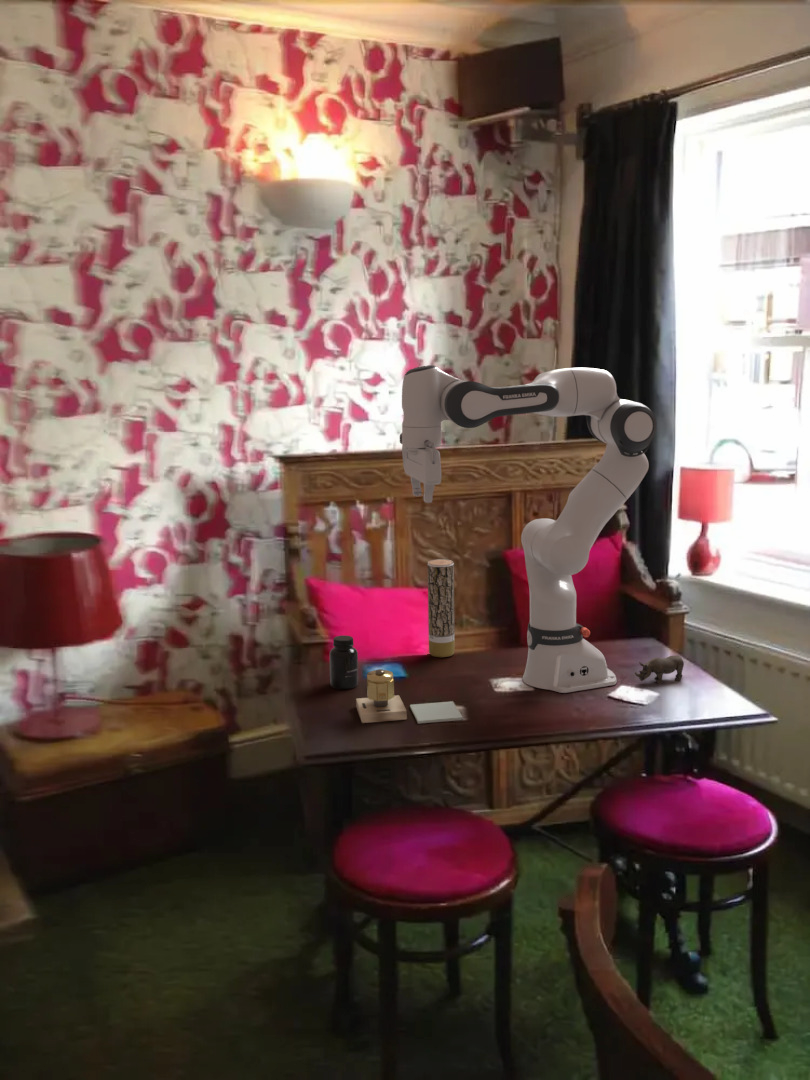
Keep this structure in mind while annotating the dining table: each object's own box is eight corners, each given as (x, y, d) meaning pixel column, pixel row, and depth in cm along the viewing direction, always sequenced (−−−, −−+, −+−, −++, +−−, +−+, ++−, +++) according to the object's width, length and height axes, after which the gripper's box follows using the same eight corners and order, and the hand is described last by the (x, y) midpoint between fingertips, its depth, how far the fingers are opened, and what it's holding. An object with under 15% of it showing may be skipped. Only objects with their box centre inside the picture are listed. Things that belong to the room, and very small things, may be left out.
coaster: (452, 703, 233) (452, 701, 233) (462, 719, 224) (462, 717, 224) (410, 707, 232) (410, 704, 232) (418, 723, 222) (418, 721, 222)
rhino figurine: (629, 681, 246) (630, 658, 244) (678, 674, 250) (679, 651, 249) (638, 687, 242) (639, 663, 241) (688, 680, 246) (689, 656, 245)
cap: (390, 689, 232) (390, 664, 231) (396, 700, 225) (395, 675, 224) (365, 691, 231) (364, 666, 230) (370, 703, 224) (369, 677, 223)
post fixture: (399, 703, 234) (398, 670, 233) (406, 719, 225) (406, 685, 223) (356, 706, 233) (355, 673, 231) (362, 723, 223) (360, 688, 221)
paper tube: (435, 659, 265) (434, 566, 260) (424, 652, 271) (423, 561, 266) (459, 655, 267) (458, 563, 262) (447, 648, 273) (446, 558, 268)
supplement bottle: (354, 690, 243) (353, 642, 241) (327, 689, 244) (325, 641, 242) (361, 681, 250) (360, 634, 247) (334, 679, 251) (333, 633, 249)
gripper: (448, 442, 220) (448, 505, 223) (423, 433, 240) (424, 491, 243) (420, 444, 219) (420, 507, 222) (397, 434, 238) (398, 493, 241)
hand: (422, 499), depth 232 cm, fingers open, 8 cm apart
